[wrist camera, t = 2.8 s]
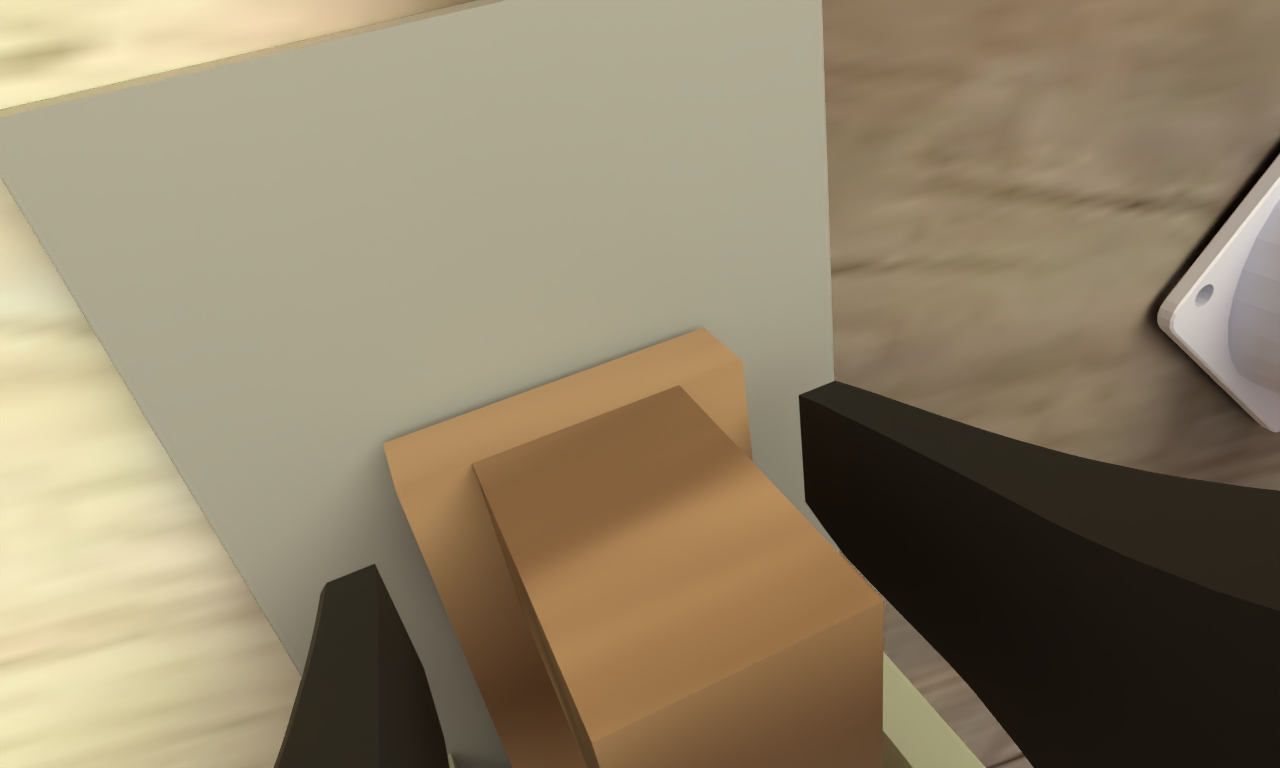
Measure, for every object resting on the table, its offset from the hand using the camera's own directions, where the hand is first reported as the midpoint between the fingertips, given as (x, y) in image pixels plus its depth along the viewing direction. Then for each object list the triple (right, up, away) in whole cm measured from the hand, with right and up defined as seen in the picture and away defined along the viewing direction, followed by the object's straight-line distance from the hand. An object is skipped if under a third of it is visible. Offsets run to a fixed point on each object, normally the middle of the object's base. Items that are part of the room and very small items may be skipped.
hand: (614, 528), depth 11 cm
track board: (0, -6, +7) cm, 9 cm away
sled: (0, -6, +7) cm, 9 cm away
